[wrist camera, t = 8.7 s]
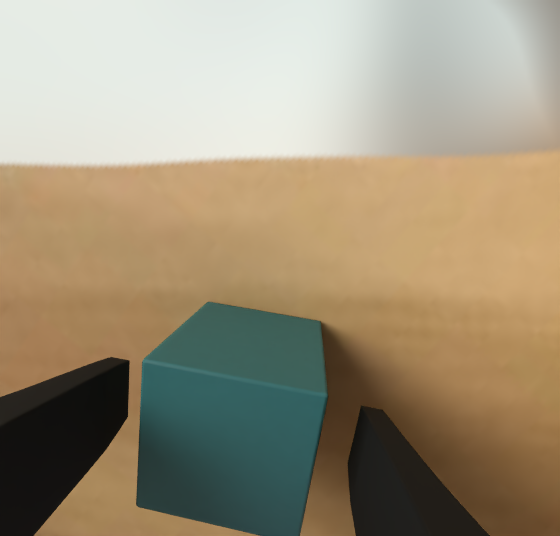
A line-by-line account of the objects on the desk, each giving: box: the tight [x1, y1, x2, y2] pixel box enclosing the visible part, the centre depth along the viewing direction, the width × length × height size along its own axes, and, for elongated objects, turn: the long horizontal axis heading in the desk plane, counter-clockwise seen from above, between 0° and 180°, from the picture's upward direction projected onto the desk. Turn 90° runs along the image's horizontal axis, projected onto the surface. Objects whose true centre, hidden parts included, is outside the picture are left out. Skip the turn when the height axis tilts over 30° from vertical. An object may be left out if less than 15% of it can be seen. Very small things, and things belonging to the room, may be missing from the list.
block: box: [136, 302, 328, 536], centre depth 9 cm, size 4×4×4 cm
